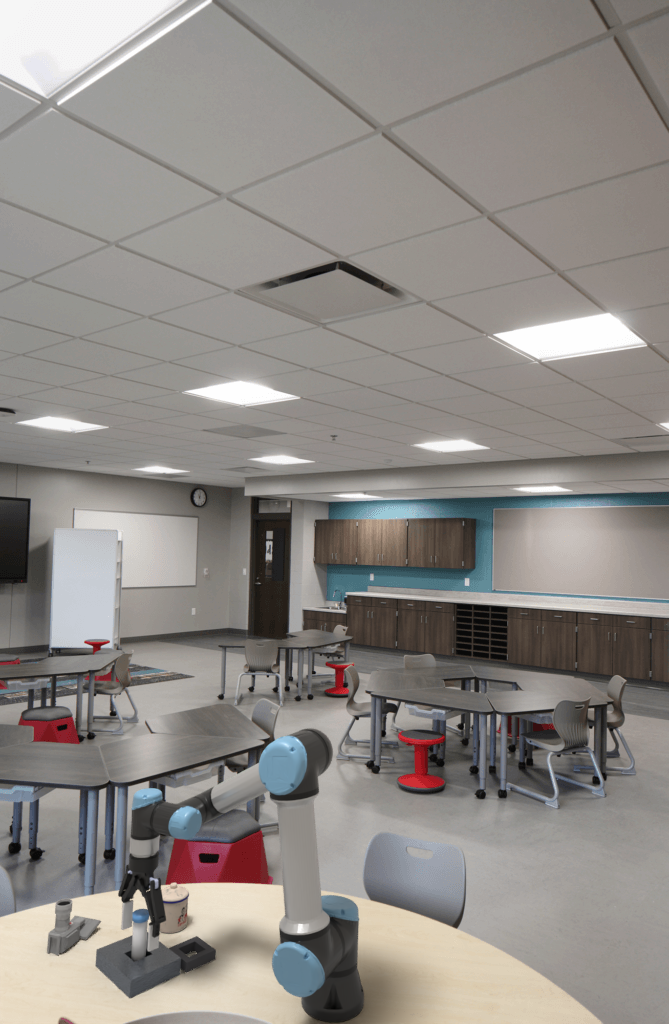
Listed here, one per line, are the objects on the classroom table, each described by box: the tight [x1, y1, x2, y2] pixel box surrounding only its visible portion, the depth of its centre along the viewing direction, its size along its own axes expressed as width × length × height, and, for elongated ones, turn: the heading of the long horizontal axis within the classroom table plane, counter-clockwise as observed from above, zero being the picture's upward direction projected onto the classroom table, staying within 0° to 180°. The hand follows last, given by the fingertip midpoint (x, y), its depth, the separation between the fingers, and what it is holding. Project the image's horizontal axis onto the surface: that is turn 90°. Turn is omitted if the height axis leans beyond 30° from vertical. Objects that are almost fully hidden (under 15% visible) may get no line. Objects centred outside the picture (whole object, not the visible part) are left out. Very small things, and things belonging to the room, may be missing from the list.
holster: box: [168, 935, 217, 974], centre depth 173 cm, size 9×9×2 cm
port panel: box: [94, 931, 182, 999], centre depth 167 cm, size 18×14×4 cm
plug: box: [131, 908, 150, 962], centre depth 168 cm, size 4×4×14 cm
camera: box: [46, 898, 102, 956], centre depth 181 cm, size 9×12×15 cm
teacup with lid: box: [160, 882, 190, 934], centre depth 191 cm, size 12×9×12 cm
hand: (139, 938), depth 168 cm, fingers open, 13 cm apart
